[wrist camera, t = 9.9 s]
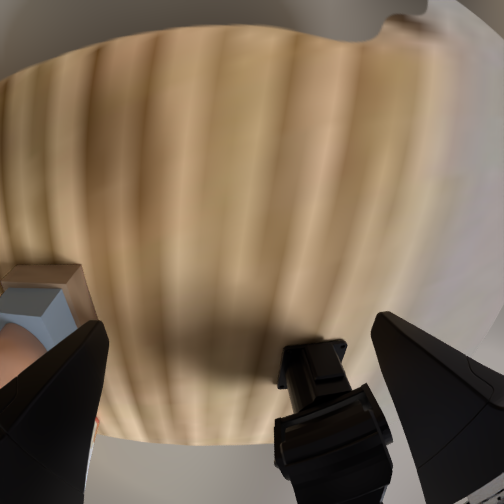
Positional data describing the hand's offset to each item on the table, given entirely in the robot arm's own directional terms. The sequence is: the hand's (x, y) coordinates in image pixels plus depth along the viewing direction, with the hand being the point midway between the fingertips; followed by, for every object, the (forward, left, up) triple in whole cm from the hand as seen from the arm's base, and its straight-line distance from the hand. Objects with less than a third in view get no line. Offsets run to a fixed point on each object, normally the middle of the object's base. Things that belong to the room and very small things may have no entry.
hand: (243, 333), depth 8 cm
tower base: (-8, +16, -13) cm, 22 cm away
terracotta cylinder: (-8, +16, -6) cm, 19 cm away
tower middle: (-8, +16, -9) cm, 20 cm away
